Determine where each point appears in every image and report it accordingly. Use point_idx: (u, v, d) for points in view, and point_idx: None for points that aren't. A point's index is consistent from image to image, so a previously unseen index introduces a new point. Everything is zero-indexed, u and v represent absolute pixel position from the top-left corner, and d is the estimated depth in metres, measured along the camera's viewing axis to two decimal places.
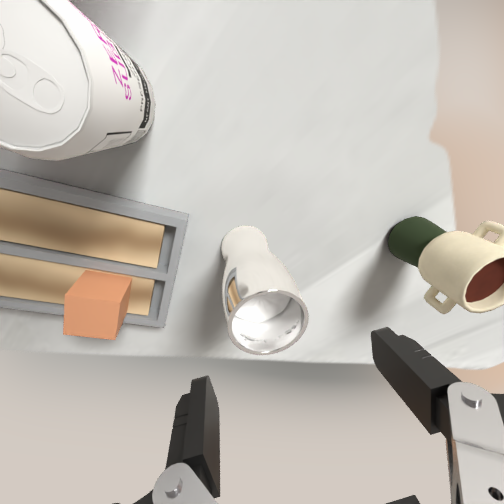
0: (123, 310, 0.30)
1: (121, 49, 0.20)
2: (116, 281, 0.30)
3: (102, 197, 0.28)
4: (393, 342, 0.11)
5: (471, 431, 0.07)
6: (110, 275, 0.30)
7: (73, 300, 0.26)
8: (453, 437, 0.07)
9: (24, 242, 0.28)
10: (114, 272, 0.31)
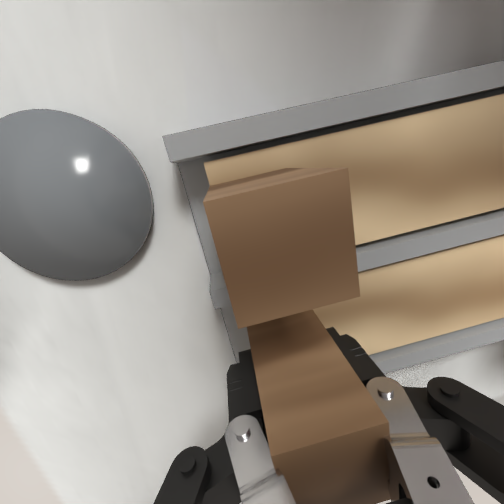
0: None
1: None
2: None
3: None
4: (334, 340, 0.12)
5: (395, 424, 0.08)
6: None
7: None
8: None
9: (467, 212, 0.14)
10: None
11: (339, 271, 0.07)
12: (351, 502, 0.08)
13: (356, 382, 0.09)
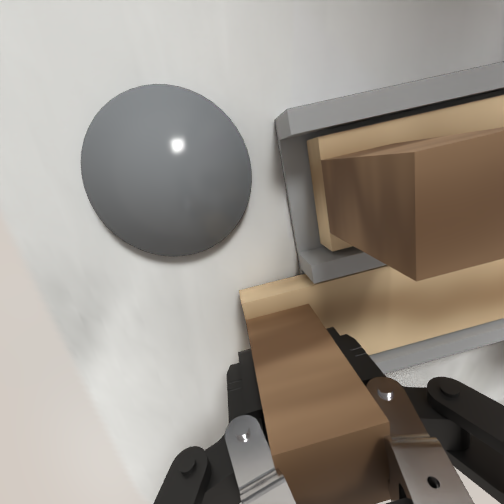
0: None
1: None
2: None
3: None
4: None
5: (395, 424, 0.08)
6: None
7: None
8: (384, 436, 0.08)
9: None
10: None
11: None
12: (351, 502, 0.08)
13: (356, 382, 0.09)
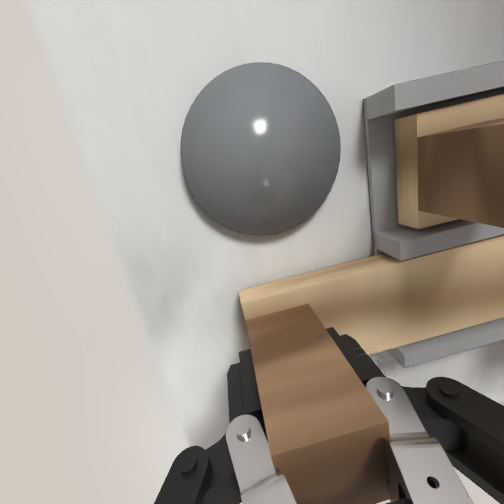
0: None
1: None
2: None
3: None
4: None
5: (394, 424, 0.08)
6: None
7: None
8: None
9: None
10: None
11: None
12: (351, 502, 0.08)
13: (356, 382, 0.09)
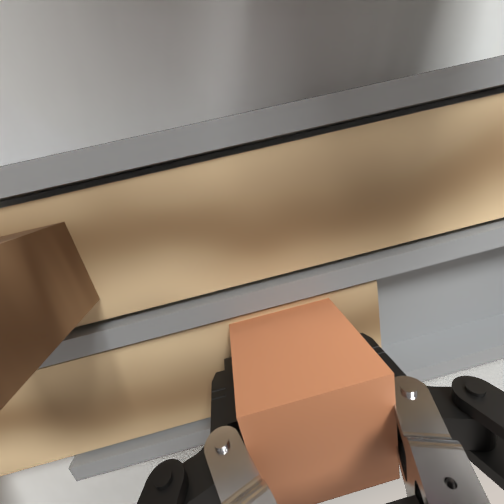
0: None
1: None
2: (310, 318, 0.12)
3: None
4: None
5: (416, 423, 0.08)
6: (284, 313, 0.12)
7: (264, 424, 0.08)
8: (403, 434, 0.08)
9: (303, 264, 0.12)
10: (288, 303, 0.13)
11: None
12: None
13: None
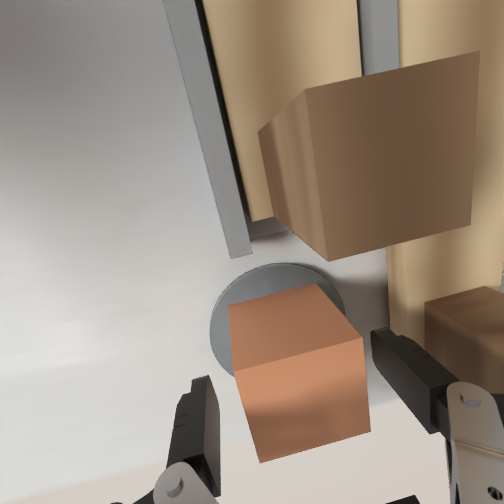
0: None
1: None
2: (298, 299, 0.13)
3: None
4: (392, 342, 0.11)
5: (470, 431, 0.07)
6: (276, 295, 0.14)
7: (256, 378, 0.10)
8: (452, 437, 0.07)
9: None
10: None
11: (435, 90, 0.05)
12: None
13: None
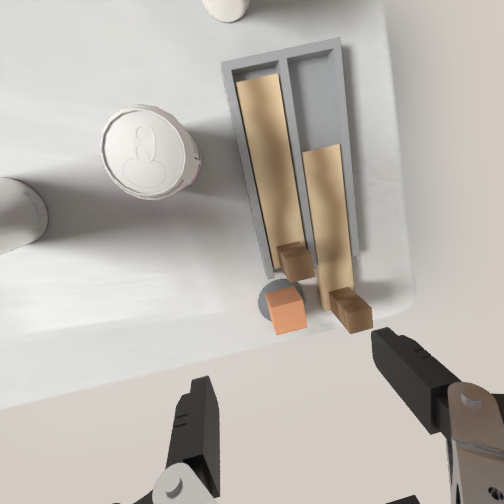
0: None
1: None
2: (287, 290, 0.43)
3: (237, 140, 0.36)
4: (393, 342, 0.11)
5: (471, 431, 0.07)
6: (281, 289, 0.44)
7: (276, 309, 0.40)
8: (453, 437, 0.07)
9: (293, 180, 0.38)
10: (306, 185, 0.38)
11: (305, 258, 0.35)
12: (369, 316, 0.38)
13: (343, 309, 0.39)
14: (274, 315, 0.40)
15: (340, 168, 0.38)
